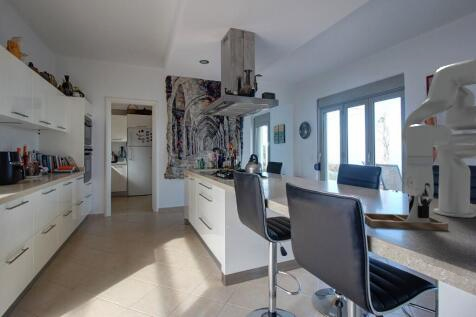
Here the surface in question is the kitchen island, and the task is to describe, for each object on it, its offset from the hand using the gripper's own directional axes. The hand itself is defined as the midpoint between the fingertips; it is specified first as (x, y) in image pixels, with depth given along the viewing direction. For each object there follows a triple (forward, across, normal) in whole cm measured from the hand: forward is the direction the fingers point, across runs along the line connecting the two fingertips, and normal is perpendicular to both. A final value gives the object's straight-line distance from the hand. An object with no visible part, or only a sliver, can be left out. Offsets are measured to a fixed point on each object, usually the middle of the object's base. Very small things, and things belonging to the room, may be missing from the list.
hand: (418, 215), depth 88 cm
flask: (+3, 0, 0) cm, 3 cm away
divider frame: (+3, 0, -6) cm, 6 cm away
